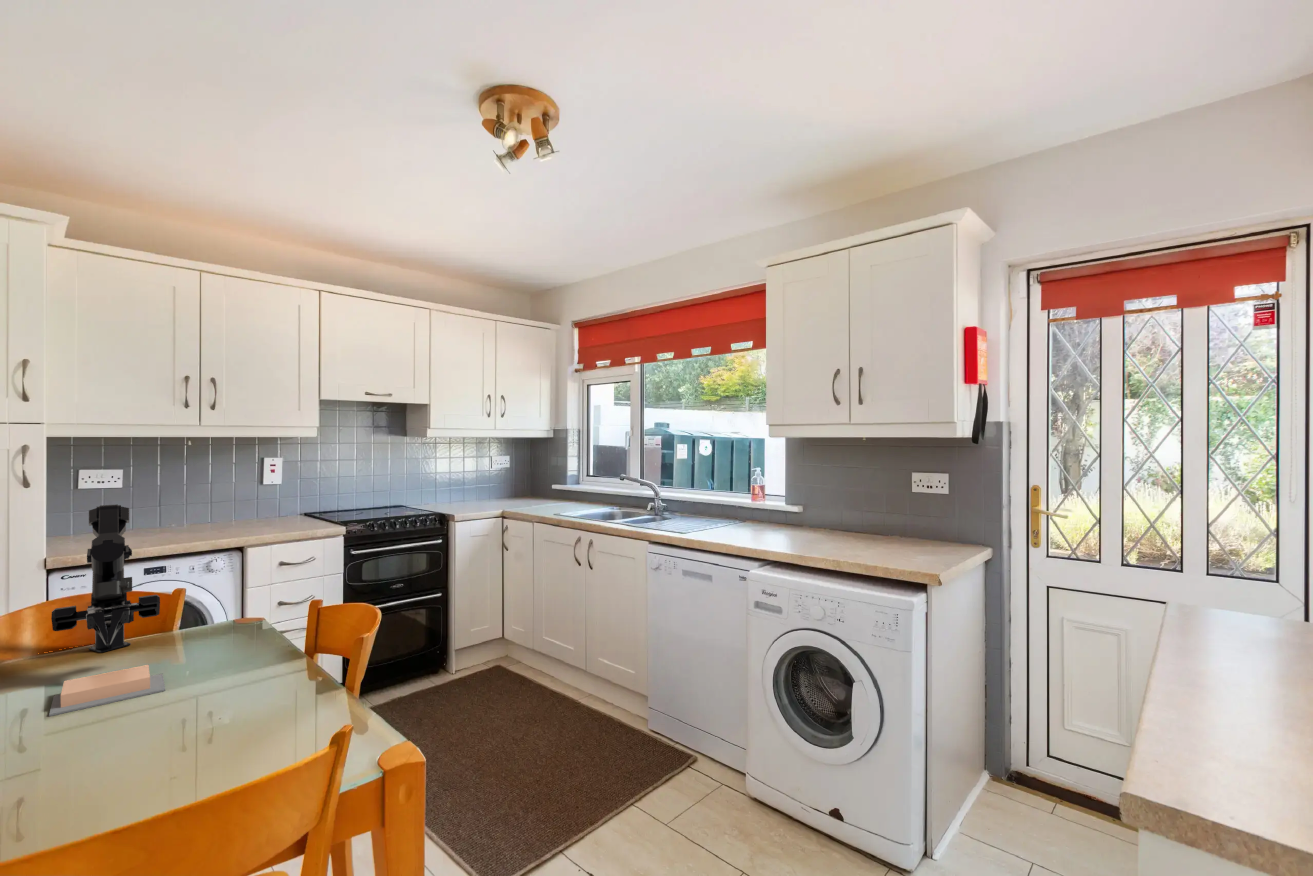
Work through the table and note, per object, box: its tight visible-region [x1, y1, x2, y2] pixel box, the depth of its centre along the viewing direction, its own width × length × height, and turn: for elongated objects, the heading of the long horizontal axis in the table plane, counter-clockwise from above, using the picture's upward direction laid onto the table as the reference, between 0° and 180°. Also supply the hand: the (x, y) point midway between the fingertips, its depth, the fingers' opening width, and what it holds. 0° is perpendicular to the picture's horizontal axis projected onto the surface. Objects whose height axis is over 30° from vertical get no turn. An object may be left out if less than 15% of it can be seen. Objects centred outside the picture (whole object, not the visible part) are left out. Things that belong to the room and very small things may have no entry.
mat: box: [48, 673, 166, 717], centre depth 131 cm, size 12×18×1 cm, turn 132°
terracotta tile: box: [60, 664, 151, 708], centre depth 132 cm, size 2×14×10 cm
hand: (108, 644), depth 138 cm, fingers closed
